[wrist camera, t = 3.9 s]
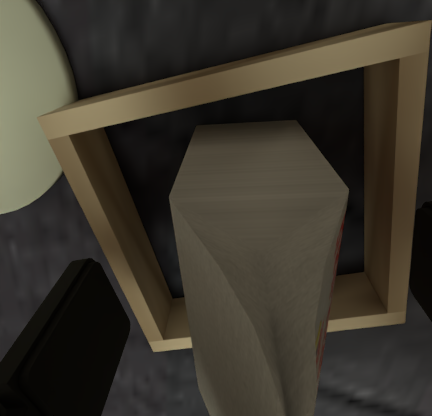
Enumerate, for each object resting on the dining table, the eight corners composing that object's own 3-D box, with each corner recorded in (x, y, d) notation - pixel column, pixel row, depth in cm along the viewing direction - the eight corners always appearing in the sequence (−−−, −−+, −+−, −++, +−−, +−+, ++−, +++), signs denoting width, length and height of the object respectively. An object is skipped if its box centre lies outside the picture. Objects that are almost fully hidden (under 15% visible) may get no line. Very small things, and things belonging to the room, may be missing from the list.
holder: (386, 23, 10) (431, 19, 8) (379, 280, 15) (405, 323, 13) (73, 101, 11) (36, 117, 9) (163, 310, 16) (153, 352, 14)
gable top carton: (209, 265, 15) (180, 589, 6) (196, 125, 12) (94, 391, 3) (287, 263, 15) (369, 599, 6) (295, 119, 11) (505, 393, 3)
